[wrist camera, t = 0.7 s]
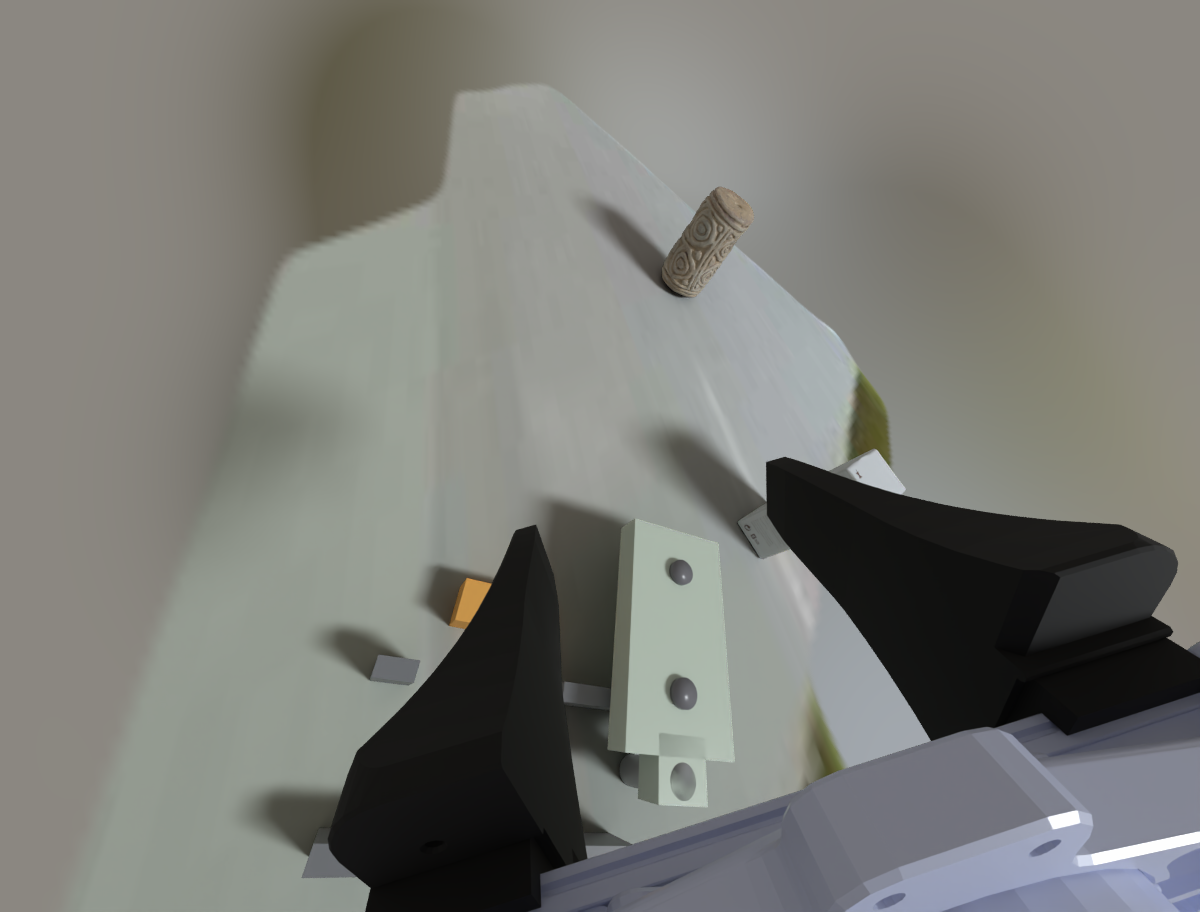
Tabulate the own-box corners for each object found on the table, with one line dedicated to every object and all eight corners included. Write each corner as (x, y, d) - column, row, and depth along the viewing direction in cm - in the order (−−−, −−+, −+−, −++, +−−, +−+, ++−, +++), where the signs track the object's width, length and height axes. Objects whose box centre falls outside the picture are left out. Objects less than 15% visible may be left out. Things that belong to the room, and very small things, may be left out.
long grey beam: (608, 856, 24) (634, 872, 21) (308, 857, 19) (301, 877, 16) (617, 693, 28) (640, 692, 26) (376, 660, 23) (378, 654, 21)
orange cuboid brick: (531, 642, 27) (544, 637, 26) (448, 626, 26) (455, 619, 24) (538, 604, 29) (550, 597, 27) (459, 586, 27) (466, 578, 25)
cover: (577, 787, 24) (627, 804, 20) (599, 543, 33) (638, 516, 28) (678, 793, 27) (743, 809, 22) (675, 563, 35) (722, 541, 30)
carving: (692, 277, 60) (753, 198, 51) (697, 312, 56) (763, 233, 47) (654, 258, 58) (711, 171, 48) (656, 293, 54) (718, 206, 44)
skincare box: (760, 561, 40) (882, 517, 30) (735, 521, 41) (845, 466, 31) (791, 536, 43) (909, 489, 34) (767, 500, 44) (875, 445, 35)
